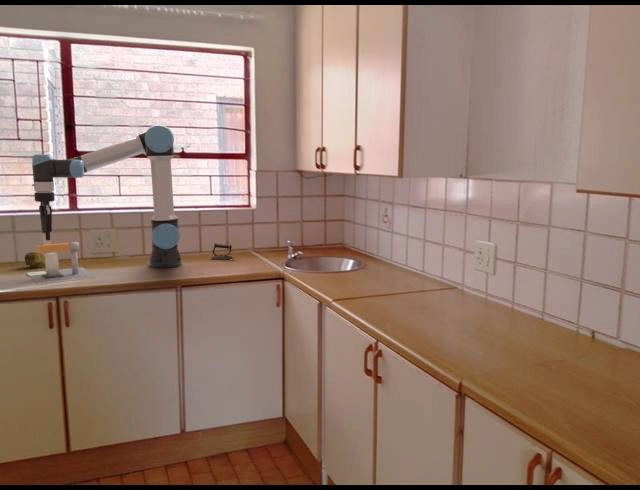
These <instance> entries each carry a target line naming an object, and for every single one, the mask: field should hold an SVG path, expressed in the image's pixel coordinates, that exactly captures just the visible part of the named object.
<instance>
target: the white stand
mask: <svg viewBox="0 0 640 490" xmlns="http://www.w3.org/2000/svg"><path fill="white" fill-rule="evenodd" d="M70 252H71V253H70V256H71V268H62V269H59V275H57V276H46V274H42V276H32V277H29V278H30V279H32V280H33V282H35V283H41V284H39V285H42V283H46V282H47V283H48V282H49V283H50V282H52V281H53V282H54V281H58V282H56V283H57V284H58V283H59V281H61V280H62V281H63V280H72V279H79V278H83V279H81V280H84V278H88V277H89V279H90V280H91V279H92V278H90V277H95V276H96V275H95V274H94V273H92V272H90V271H89V270H88V269H85V268H84V267H82V266H81V267H80V266H79V261H78V250H76V251H70ZM44 271H45V272H46V270H44ZM27 273H28V272H26V273H25V274H26V275H27ZM73 281H76V280H72V282H73ZM64 282H67V281H64ZM49 283H48V284H49Z"/></svg>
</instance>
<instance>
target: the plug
mask: <svg viewBox="0 0 640 490" xmlns="http://www.w3.org/2000/svg"><path fill="white" fill-rule="evenodd" d="M44 255H45V264H46V267H45V271H46V276H57V275H59V270H60V269H59V255H58V252H48V253H44Z"/></svg>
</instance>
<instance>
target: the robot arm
mask: <svg viewBox="0 0 640 490" xmlns="http://www.w3.org/2000/svg"><path fill="white" fill-rule="evenodd" d="M174 141H175V137H174V133H173V132H172V130H171V129H170V128H169V127H167V126H166V125H163V124H158V123H157V124H153V125H151V126H149V127H148V128H147V129H146V130H145V131H143V132H141V133H137V134H136V136H135V137H133V138H130V139H127V140H125V141H121V142H118V143H115V144H112V145H108V146H105V147H103V148H100V149H97V150H94V151H90V152H87V153H85V154H82V155H79V156H75V157H73V158H69V159H56V158H54V159H53V156H52V155H51V154H34V155H33V154H32V159H31V160H32V161H31V162H32V165H31V167H32V175H33V176H32V179H33V180H32V181H33V184H32V187H33V191H34V195H33V196H34V202H37V203H40V204H39V206H38V211H39V217H40V226H41V233H42V237H43V245H50V244H52V231H53V227H52V226H53V222H52V221H53V219H52V217H53V209H52V205H51V204H50V203H51V202H54V201H56V200H55V197H56V196H55V192H54V191H55V182H54V178H62V179H63V178H65V179H66V178H67V179H68V178H69V179H71V178H74V179H76V178H77V179H78V178H83V177H84V175H85V173H89V172H91V171H95V170H97V169H100V168H103V167H106V166H109V165H111V164H115V163H118V162H121V161H124V160H128V159H129V158H133V157H136V156H139V155H141V154H143V155H145V156H146V157H147V159H149V161H150V173H151V176H150V177H151V187H152V190H151V191H152V201H153V202H152V205H153V212H154V213H153V215H152V217H151V218H150V227H151V248H152V249H151V251H150V256H149V259H148V266H149V267H151V268H156V269H157V268H159V269H161V268H163V269H165V268H176V267H179V266H182V264H183V261H182V256H181V254H180V252H179V249H178V245H179V244H178V243H179V241H180V238H181V234H180V230H179V217H178V216H177V215H176V214H175V207H174V206H175V205H174V192H173V189H174V188H173V177H172V175H173V174H172V159H173V158H174V157H175V152H174Z"/></svg>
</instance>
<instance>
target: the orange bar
mask: <svg viewBox="0 0 640 490" xmlns="http://www.w3.org/2000/svg"><path fill="white" fill-rule="evenodd" d="M36 250H37V251H36V252H38V253H40V254H46V253H58V252H59V253H60V252H69V251H70V252H71V251H76V250H77V251H80V243H79V242H77V241H72V242H66V243H65V242H64V243H51V244H50V245H44V244H39V245H36Z"/></svg>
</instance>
